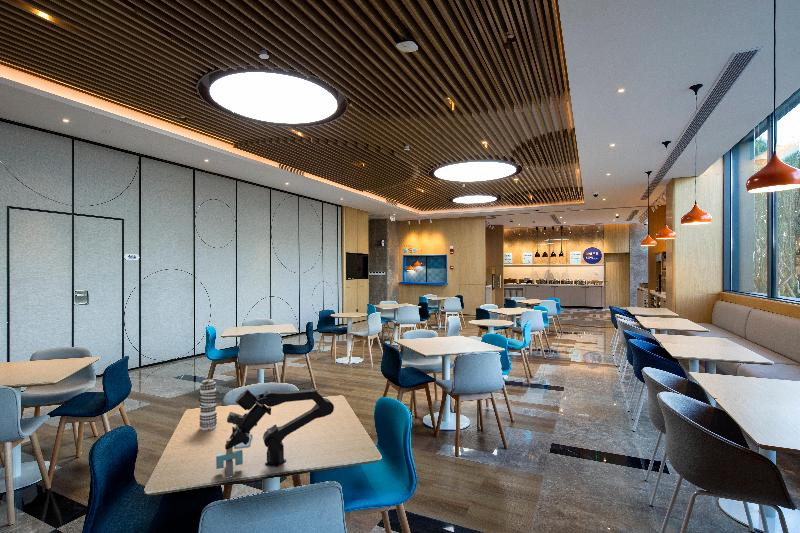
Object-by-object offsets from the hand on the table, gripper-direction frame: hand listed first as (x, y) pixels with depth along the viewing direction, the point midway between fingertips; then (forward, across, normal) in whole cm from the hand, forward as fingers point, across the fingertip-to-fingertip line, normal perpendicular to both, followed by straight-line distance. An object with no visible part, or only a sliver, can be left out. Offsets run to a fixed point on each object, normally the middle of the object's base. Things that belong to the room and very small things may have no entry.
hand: (225, 448), depth 174 cm
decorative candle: (+13, -62, +1) cm, 63 cm away
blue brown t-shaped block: (+4, 0, +6) cm, 7 cm away
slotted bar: (+6, 0, +8) cm, 10 cm away
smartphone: (+2, -31, +13) cm, 34 cm away
